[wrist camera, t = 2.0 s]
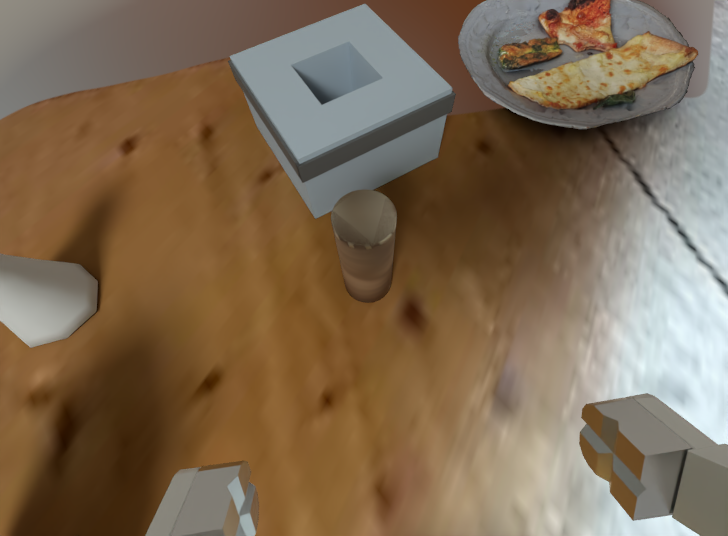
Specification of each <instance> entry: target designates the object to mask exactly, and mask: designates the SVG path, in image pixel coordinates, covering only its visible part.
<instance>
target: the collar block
mask: <svg viewBox="0 0 728 536" xmlns="http://www.w3.org/2000/svg"><path fill="white" fill-rule="evenodd" d="M230 59H231V60H230V61H228V62H229V65H230V67H231V70H232V72H233V75H234V77H235V79H236V81H237V83H238V84H239V86H240V87H241V89H242V90H243V92H244V94H245V97H246V100H247V102H248V105H249V107H250V110H251V112H252V115H253V117H254V120H255V123H256V125H257V127H258V129H259V130H260V132H261V134H262V135H263V137H264V138H265V140H266V142H267V143H268V145H269V146H270V148H271V149H272V151H273V153H274V154H275V156H276V157H277V159H278V160H279V162H280V164H281V165H282V167H283V168H284V170H285V172H286V173H287V175H288V176H289V178H290V179H291V181H292V183H293V184H294V186H295V187H296V189H297V190H298V192H299V194H300V195H301V197H302V198H303V200H304V202H305V203H306V205H307V206H308V208H309V209H310V211H311V213H312V214H313V216H314V217H315V219H316V218H318V217H320V216H322V215H324V214H326V213H328V212H330V211H332V210H333V208H334V206H335V204H336V203H337V201H338V200H339V199H340V198H341V197H343V196H344V195H346V194H348V193H350V192H352V191H356V190H363V189H366V190H374V189H376V188H378V187H380V186H382V185H384V184H386V183H388V182H390V181H392V180H394V179H396V178H398V177H400V176H402V175H404V174H406V173H408V172H410V171H412V170H414V169H415V168H417V167H419V166H421V165H423V164H425V163H427V162H429V161H431V160H433V159H435V158H437V157H438V154H439V149H440V144H441V140H442V135H443V130H444V125H445V121H446V116H447V114H448V113H450V112H452V108H453V103H454V99H455V95H456V94H455V93H454V92H453V91H452V87H451V86H450V85H449V84H448V83H447V82H446V81H445V80H444V79H443V78H442V77H440V76H439V75H438V74H437V73H436V72H435V71H434V70H433V69H432V68H431V67H430V66H429V65H428V64H427V63H426V62H425V61H424V60H423V59H422V58H421V57H420V56H419V55H418V54H417V53H416V52H415V51H413V49H411V48H410V47H409V46H408V45H407V44H406V43H405V42H404V41H403V40H402V39H401V38H400V37H399V36H398V35H397V34H396V33H395V32H394V31H393V30H392V29H391V28H390V27H389V26H388V25H387V24H385V23H384V22H383V21H382V20H381V19H380V18H379V17H378V16H377V15H376V14H375V13H374V12H373V11H372V10H371V9H370V8H369V7H368V6H367V5H366V4H363V5H361V6H358V7H355V8H353V9H351V10H348V11H345V12H343V13H340V14H337V15H335V16H332V17H330V18H327V19H325V20H322V21H320V22H317V23H314V24H312V25H309V26H307V27H304V28H301V29H299V30H296V31H294V32H291V33H288V34H286V35H283V36H281V37H278V38H275V39H273V40H270V41H268V42H265V43H263V44H260V45H257V46H255V47H252V48H250V49H247V50H245V51H242V52H239V53H237V54H234V55H232V56H230Z"/></svg>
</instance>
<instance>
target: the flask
mask: <svg viewBox="0 0 728 536" xmlns="http://www.w3.org/2000/svg"><path fill="white" fill-rule="evenodd" d="M97 292H98V281H97V280H96V279H95V278H94V277H93V276H92V275H91V274H90V273H89V272H87V271H86V270H85V269H84V268H83V267H82V266H81V265H80V264H75V263H67V262H58V261H48V260H39V259H31V258H24V257H17V256H10V255H4V254H0V321H2V322H3V323H4V324H5V325H6V326H7V327H8V328H9V329H10V330H11V331H12V332H14V333H15V334H16V335H17V336H18V337H19V338H20V339H21V340H22V341H23V342H25V343H26V344H27V345H28V346H29V347H35V346H39V345H43V344H46V343H50V342H54V341H58V340H61V339H65V338H68V337H69V336H70V335H71V334H72V333H73V332H74V331H75V330H76V329H78V328H79V327H80V326H81V325H82V324H83V323H84V322H85V321H86V320H88V319H89V318H90V317H91V316H92V315H93V314H94V313H95V312H96V311H97Z"/></svg>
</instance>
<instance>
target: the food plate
mask: <svg viewBox="0 0 728 536" xmlns="http://www.w3.org/2000/svg"><path fill="white" fill-rule="evenodd" d="M458 40H459V42H458V44H459V50H460V55H461V58H462V60H463V62H464V64H465V66H466V68H467V69H468V71H469V73H470V74H471V77H472V79H474V81H475V83H477V84H478V87H479V88H480V90H481V91H482V92H483V94H484V95H485V96H487V97H488V98H489V99H491V100H493V101H494V102H496V103H498V104H501V105H502V106H503V107H506V108H507V109H509V110H511V111H512V112H514V113H516V114H518V115H521V116H524V117H526V118H528V119H532V120H534V121H538V122H541V123H545V124H550V125H556V126H560V127H566V128H577V129H581V130H583V129H584V130H585V129H589V128H592V127H598V126H602V125H605V124H608V123H613V122H617V123H618V122H620V121H624V120H627V119H631V118H635V117H638V116H642V115H647V114H650V113H653V112H658V111H660V110H666V109H670V108H671V107H673V106H674V105H676V104H677V103H679V102H680V101H681V100H682V99H683V97H684V96H685V94H686V93H687V89H688V86H689V81H690V78H691V75H692V72H693V71H694V68H695V67H694V63H693V60H694V59H695V58H696V56H697V55H698V51H697V50H696V49H695V48H694V47H689V45H688V43H687V41H686V40H685V39H684V38H683V36H682V35H681V33H680V32H678V30H677V29H676V28H675V26H674V25H673V23H672V22H671V21H670V19H669V18H667V17H666V16H664V15H663V14H661V13H660V12H659V11H657V10H656V9H655V8H653V7H651V6H650V5H648V4H646V3H643V2H641V1H638V0H486V1H484V2H483V3H481V4H479V5H478V6H476V7H475V8H474V9H473V10H472V11H471V12H470V14H469V15H468V17H467V18H466V20H465V22H464V23H463V27H462V30H461V32H460V35H459V39H458ZM665 108H666V109H665Z"/></svg>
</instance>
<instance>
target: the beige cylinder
mask: <svg viewBox="0 0 728 536" xmlns="http://www.w3.org/2000/svg"><path fill="white" fill-rule="evenodd" d="M331 221H332V226H333V231H334V235H335V240H336V245H337V249H338V254H339V258H340V263H341V268H342V272H343V277H344V282H345V286H346V289H347V291H348V293H349V294H350V295H351V296H352V297H353V298H354V299H356V300H358V301H361V302H367V303H369V302H375V301H378V300H380V299H381V298H383V297H384V296H385V295H386V294H387V293H388V291H389V289H390V286H391V279H392V268H393V256H394V245H395V233H396V221H397V213H396V209H395V206H394V204H393V203H392V201H391V200H390V199H389V198H388V197H386V196H385V195H384V194H382V193H380V192H377V191H374V190H366V189H363V190H356V191H352V192H350V193H348V194H346V195H344V196H343V197H341V198H340V199H339V200H338V201H337V203H336V204H335V206H334V208H333V210H332V214H331Z"/></svg>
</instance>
